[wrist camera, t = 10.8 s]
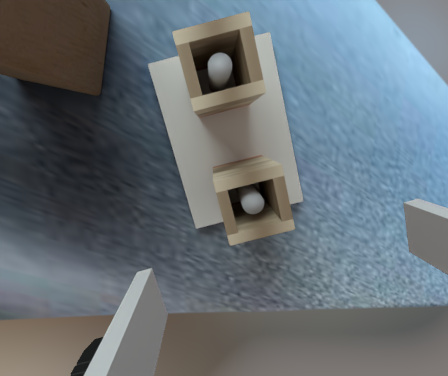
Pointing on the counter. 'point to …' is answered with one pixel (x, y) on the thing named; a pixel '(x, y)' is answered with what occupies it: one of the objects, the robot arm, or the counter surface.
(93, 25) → the wooden block
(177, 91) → the pin board
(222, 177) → the sleeve
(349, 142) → the counter surface
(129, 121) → the counter surface
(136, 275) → the robot arm
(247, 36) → the sleeve seated
